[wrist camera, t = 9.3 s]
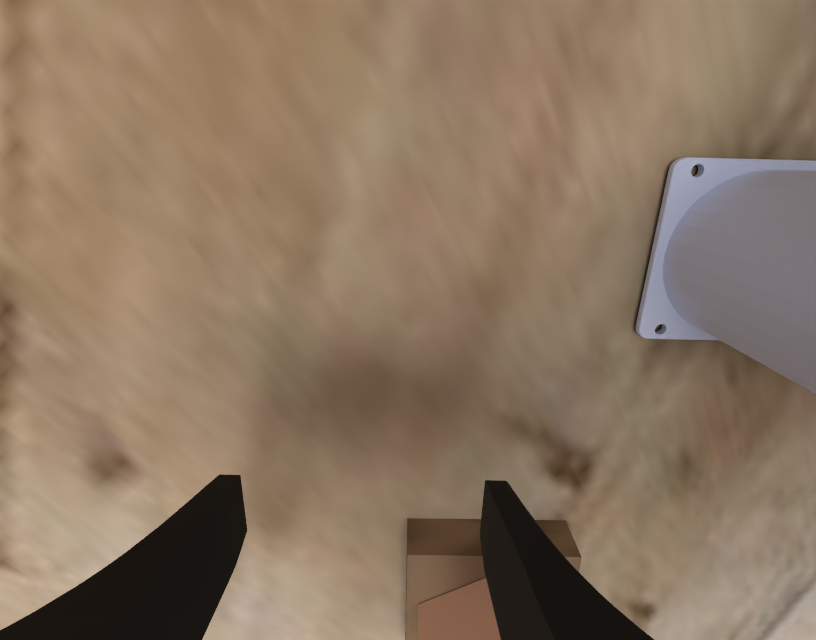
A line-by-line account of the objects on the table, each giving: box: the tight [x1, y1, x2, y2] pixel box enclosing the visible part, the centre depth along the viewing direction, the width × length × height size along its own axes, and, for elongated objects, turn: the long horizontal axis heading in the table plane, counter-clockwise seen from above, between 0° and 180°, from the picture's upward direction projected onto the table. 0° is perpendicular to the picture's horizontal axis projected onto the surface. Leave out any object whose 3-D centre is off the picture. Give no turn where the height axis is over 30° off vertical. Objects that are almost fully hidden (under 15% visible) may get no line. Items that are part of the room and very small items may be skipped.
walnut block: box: [405, 519, 581, 640], centre depth 26 cm, size 9×9×3 cm
